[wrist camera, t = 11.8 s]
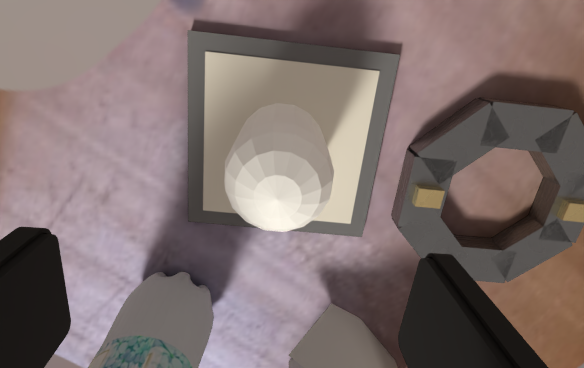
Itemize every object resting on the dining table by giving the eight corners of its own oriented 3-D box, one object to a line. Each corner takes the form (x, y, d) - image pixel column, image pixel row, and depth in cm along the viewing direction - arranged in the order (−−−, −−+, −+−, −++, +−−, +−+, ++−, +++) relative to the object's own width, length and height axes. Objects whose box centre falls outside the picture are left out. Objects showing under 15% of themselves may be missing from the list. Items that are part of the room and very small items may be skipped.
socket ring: (380, 259, 26) (388, 278, 24) (420, 91, 21) (434, 96, 19) (539, 273, 27) (560, 292, 24) (611, 112, 22) (644, 119, 20)
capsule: (321, 98, 21) (339, 130, 13) (326, 181, 23) (344, 249, 15) (232, 107, 21) (201, 143, 14) (244, 189, 23) (223, 259, 16)
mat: (190, 217, 24) (188, 222, 24) (190, 30, 20) (187, 30, 19) (360, 232, 25) (362, 237, 24) (397, 54, 21) (400, 54, 20)
